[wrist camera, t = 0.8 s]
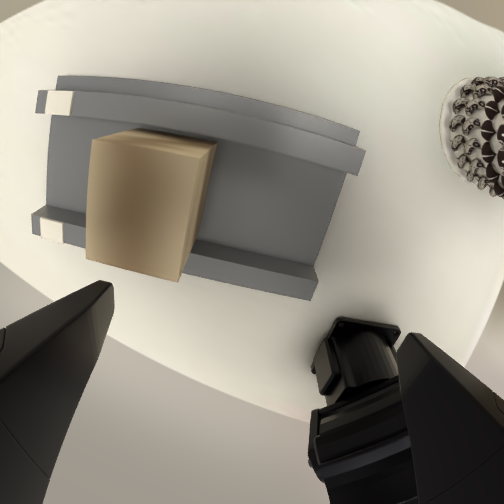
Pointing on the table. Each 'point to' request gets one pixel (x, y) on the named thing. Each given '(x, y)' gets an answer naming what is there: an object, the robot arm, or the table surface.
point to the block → (146, 200)
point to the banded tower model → (475, 132)
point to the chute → (221, 178)
